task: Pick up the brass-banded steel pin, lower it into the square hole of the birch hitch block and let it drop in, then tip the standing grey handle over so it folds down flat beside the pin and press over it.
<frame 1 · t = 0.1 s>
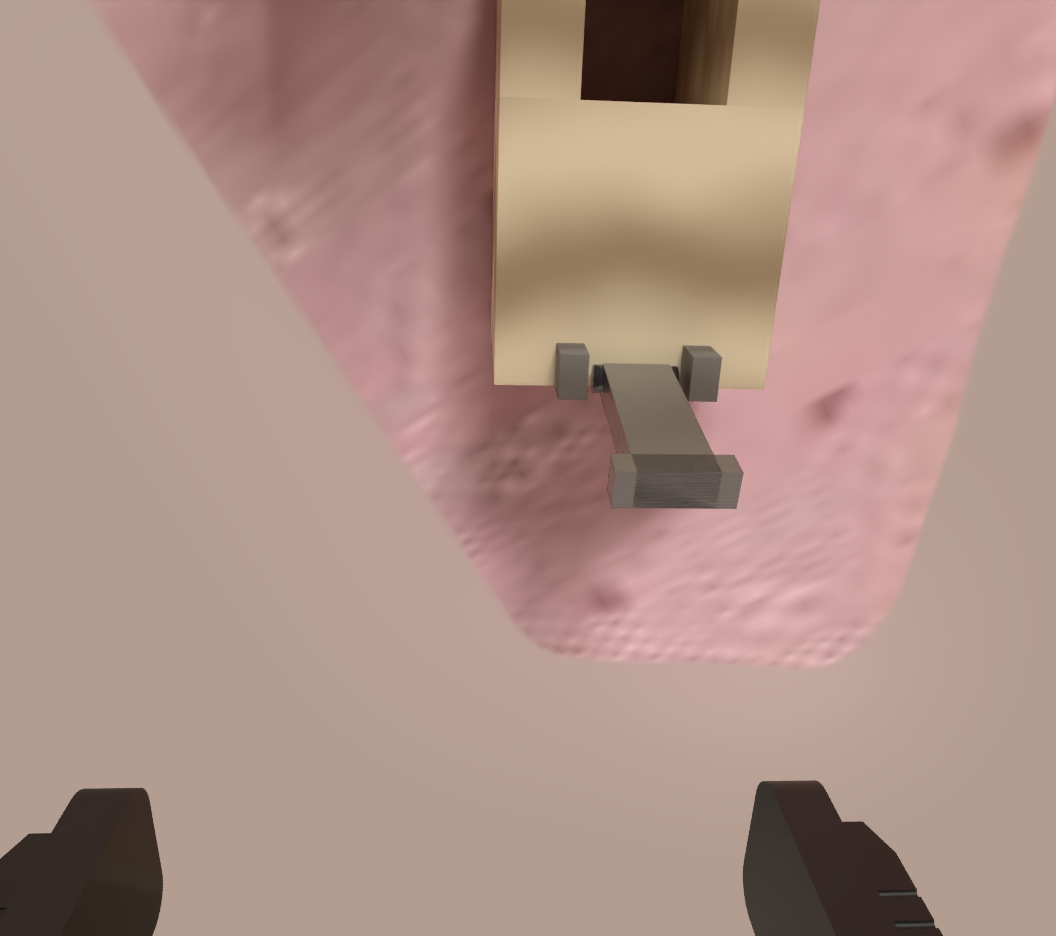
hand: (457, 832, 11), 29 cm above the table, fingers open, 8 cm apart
grey handle: (651, 424, 27), point 12 cm above the table, hinge at 98.0°
hitch block: (613, 147, 36), on the table
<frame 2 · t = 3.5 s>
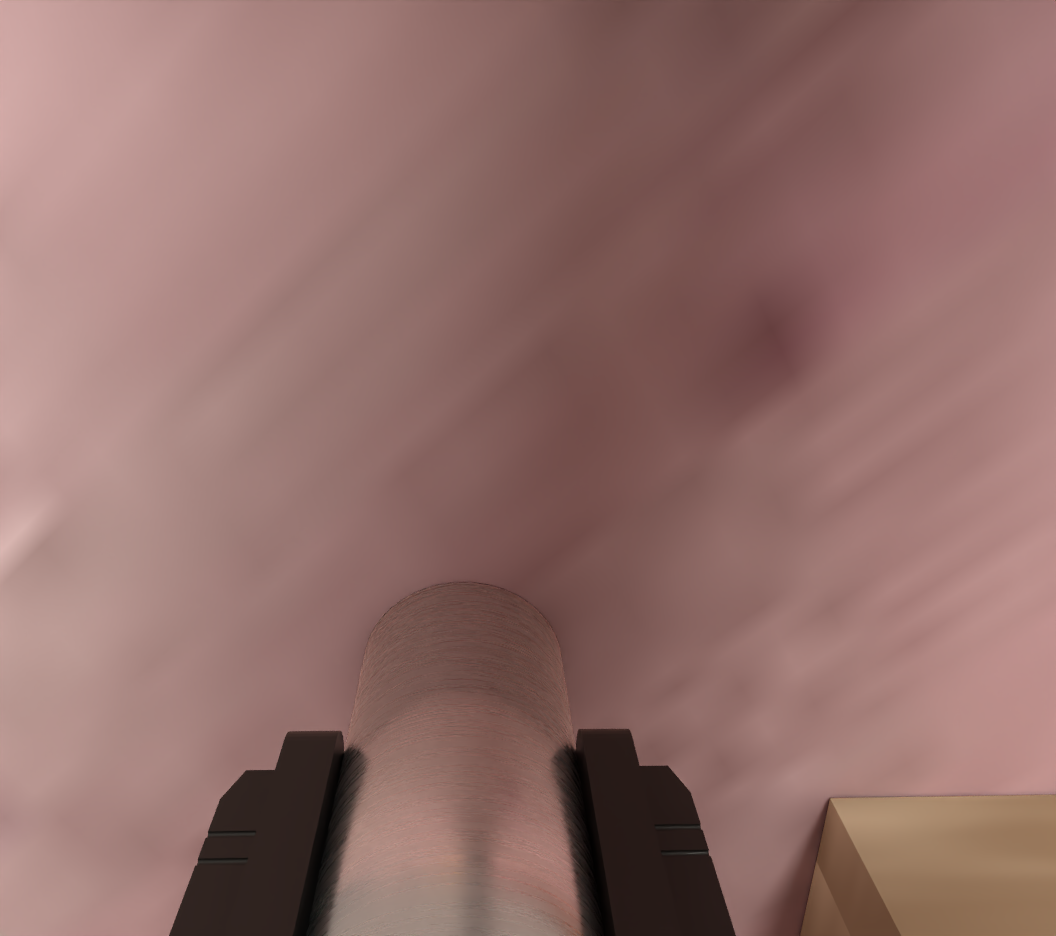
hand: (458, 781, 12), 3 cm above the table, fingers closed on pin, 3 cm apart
pin: (463, 668, 15), on the table, touching gripper
when the fingers open (8 cm above the table, at t = 7.6 s): pin drops 6 cm, resting in hitch block.
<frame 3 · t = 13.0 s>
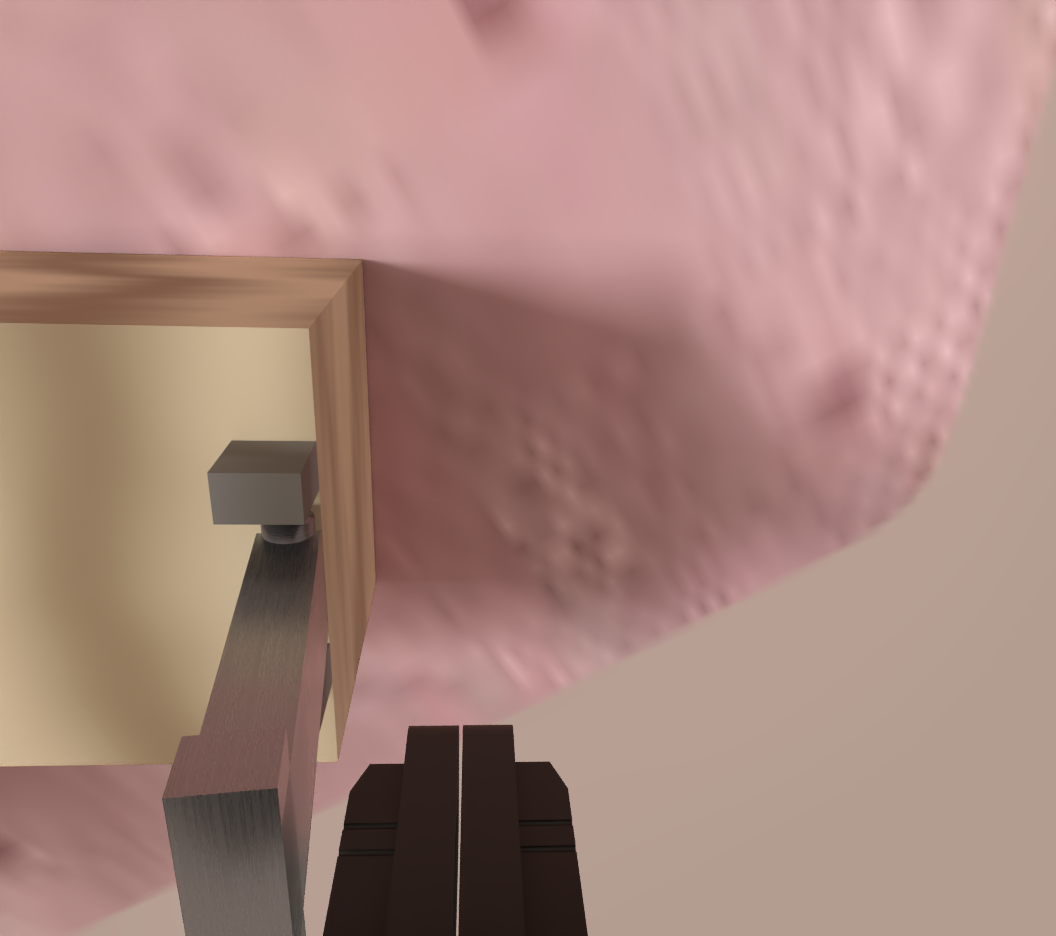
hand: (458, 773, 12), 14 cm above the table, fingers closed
grey handle: (274, 697, 14), point 12 cm above the table, hinge at 96.1°, touching gripper
hitch block: (87, 430, 24), on the table
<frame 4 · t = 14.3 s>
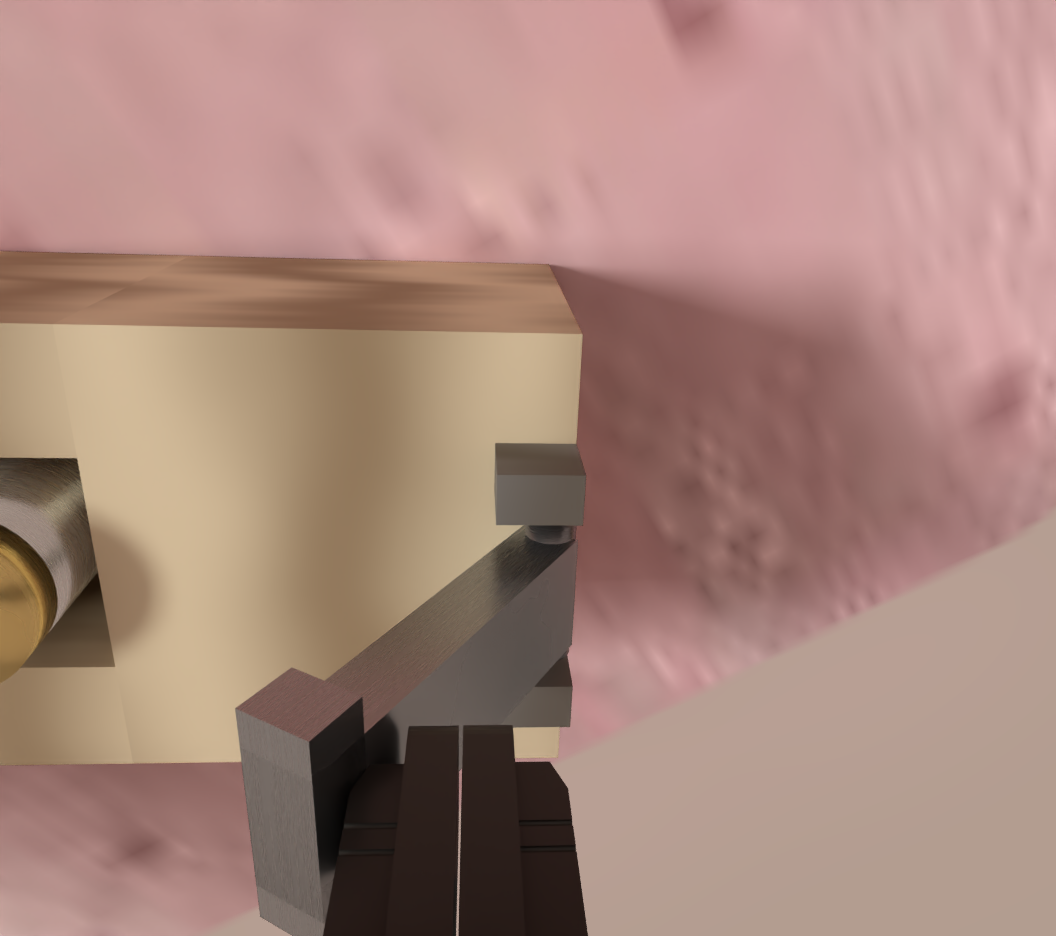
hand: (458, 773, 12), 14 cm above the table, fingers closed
pin: (128, 436, 25), resting in hitch block
grey handle: (452, 676, 14), point 12 cm above the table, hinge at 58.1°, touching gripper
hitch block: (267, 432, 25), on the table
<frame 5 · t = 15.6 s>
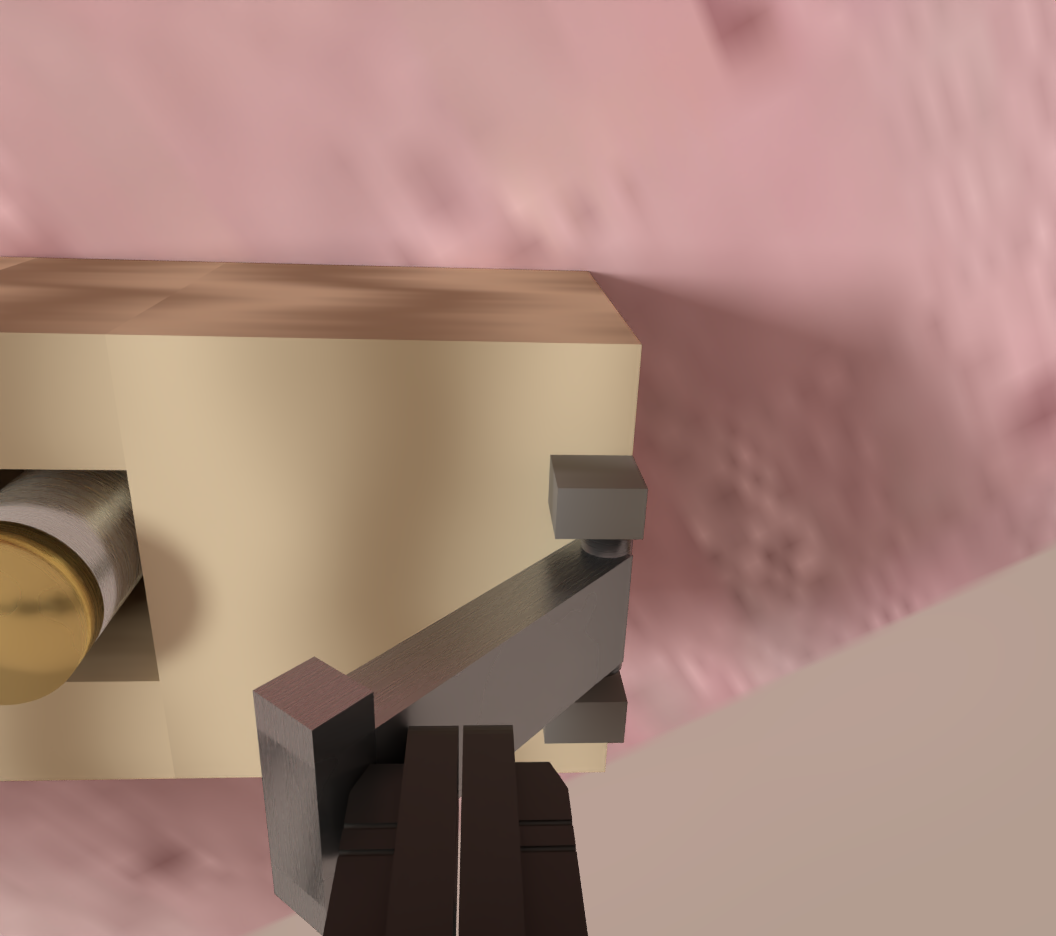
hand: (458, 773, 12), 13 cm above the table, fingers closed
pin: (160, 444, 24), resting in hitch block
grey handle: (486, 680, 14), point 11 cm above the table, hinge at 48.3°, touching gripper
hitch block: (301, 440, 24), on the table
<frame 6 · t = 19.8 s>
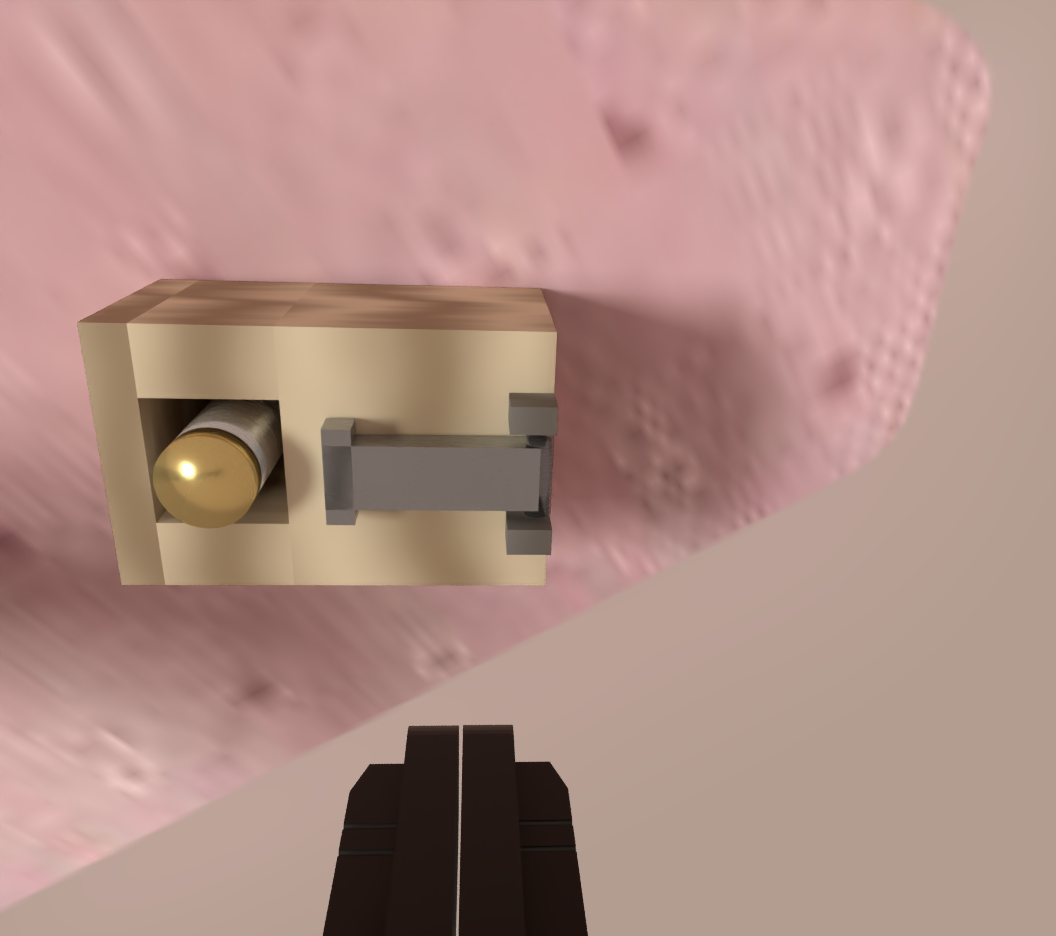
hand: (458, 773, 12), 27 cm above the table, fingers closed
pin: (268, 398, 38), resting in hitch block
grey handle: (440, 472, 30), point 9 cm above the table, hinge at 0.0°
hitch block: (358, 396, 38), on the table
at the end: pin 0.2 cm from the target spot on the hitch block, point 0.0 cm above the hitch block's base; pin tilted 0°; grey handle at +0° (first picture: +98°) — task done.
